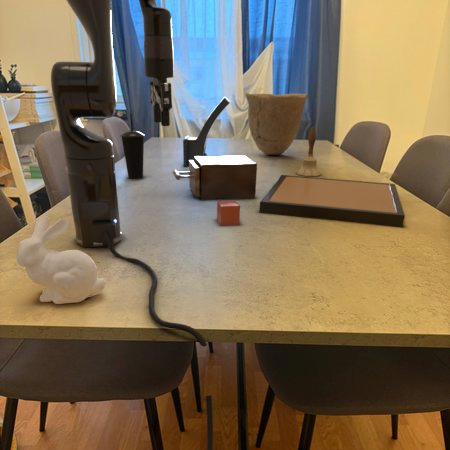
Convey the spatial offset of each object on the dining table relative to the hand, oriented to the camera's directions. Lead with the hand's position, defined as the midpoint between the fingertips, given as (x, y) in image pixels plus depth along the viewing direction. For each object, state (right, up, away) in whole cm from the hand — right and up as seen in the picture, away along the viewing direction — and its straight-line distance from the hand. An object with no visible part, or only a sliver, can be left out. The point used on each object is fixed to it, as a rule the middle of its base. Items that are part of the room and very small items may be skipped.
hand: (161, 124), depth 119 cm
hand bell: (+48, -3, +38) cm, 62 cm away
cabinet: (+17, -17, +10) cm, 26 cm away
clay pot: (+39, +16, +74) cm, 85 cm away
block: (+18, -30, -14) cm, 38 cm away
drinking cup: (-13, -7, +27) cm, 30 cm away
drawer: (+12, -16, +9) cm, 22 cm away
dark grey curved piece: (+10, +4, +50) cm, 51 cm away
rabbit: (-9, -48, -49) cm, 70 cm away
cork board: (+48, -21, +5) cm, 53 cm away
